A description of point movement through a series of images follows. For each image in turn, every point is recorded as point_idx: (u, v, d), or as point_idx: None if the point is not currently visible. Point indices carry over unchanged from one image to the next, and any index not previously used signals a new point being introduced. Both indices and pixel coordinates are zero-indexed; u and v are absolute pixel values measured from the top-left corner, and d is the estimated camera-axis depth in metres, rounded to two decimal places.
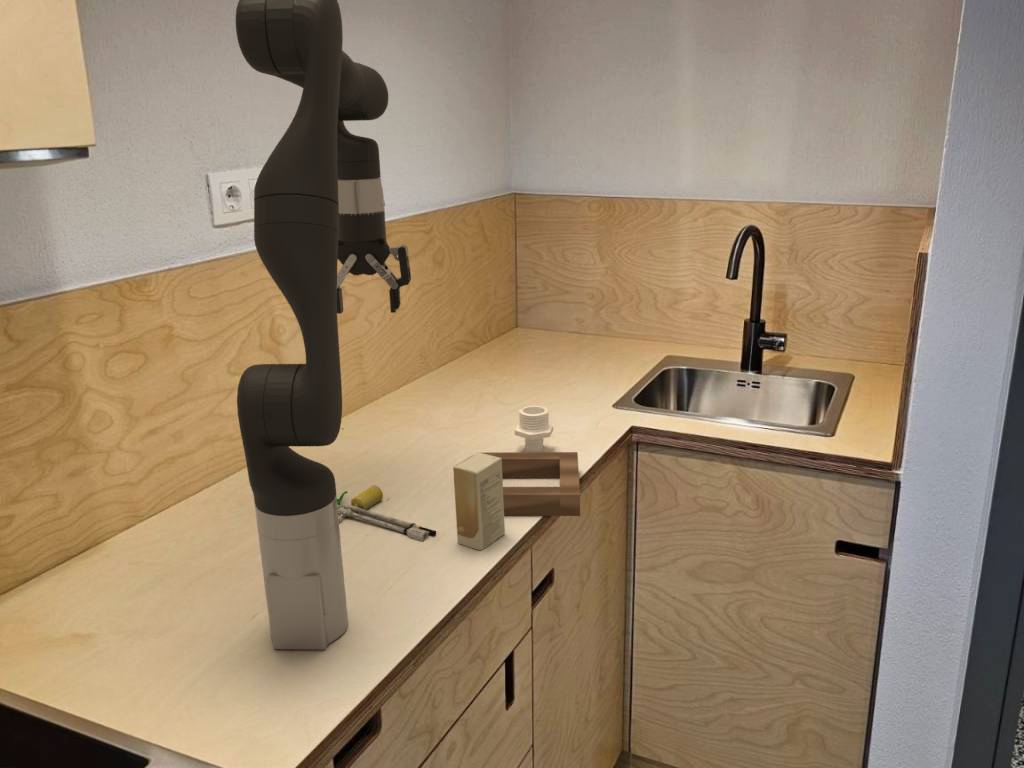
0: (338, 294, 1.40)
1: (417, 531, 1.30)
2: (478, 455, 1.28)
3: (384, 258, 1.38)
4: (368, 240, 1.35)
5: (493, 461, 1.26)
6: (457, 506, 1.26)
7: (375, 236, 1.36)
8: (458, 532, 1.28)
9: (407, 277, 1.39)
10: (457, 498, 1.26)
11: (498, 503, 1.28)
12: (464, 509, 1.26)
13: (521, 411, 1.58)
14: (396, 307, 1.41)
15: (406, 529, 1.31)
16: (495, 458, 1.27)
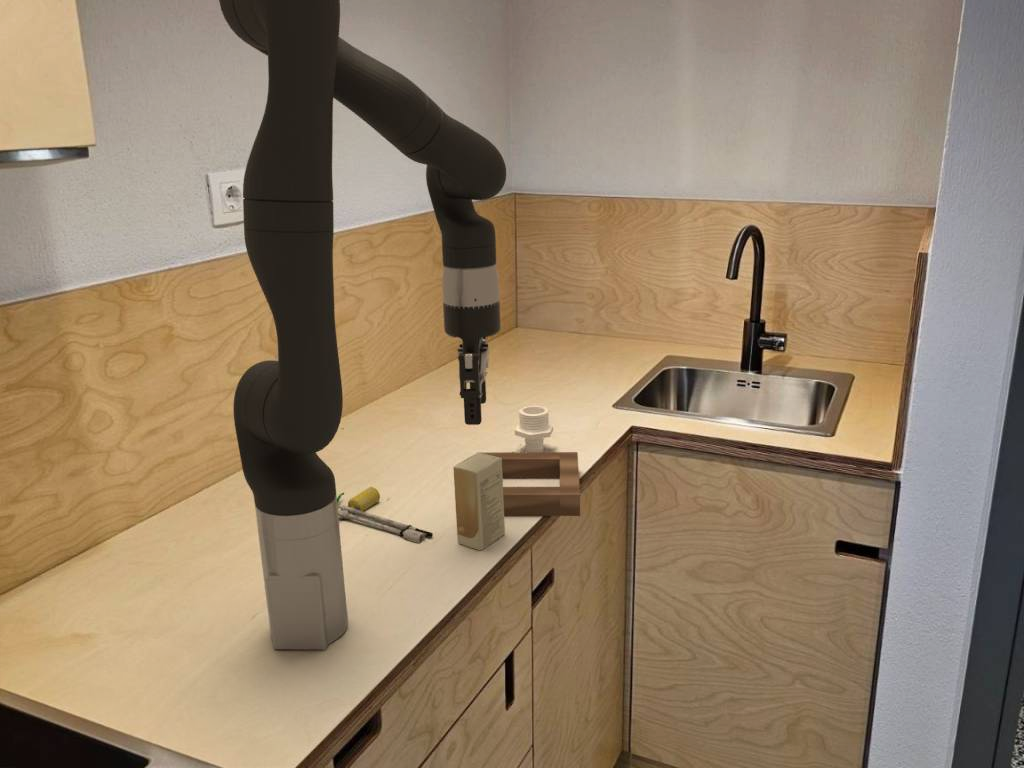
0: (480, 401, 1.19)
1: (413, 533, 1.29)
2: (478, 455, 1.28)
3: None
4: None
5: (493, 461, 1.26)
6: (457, 506, 1.26)
7: None
8: (458, 532, 1.28)
9: None
10: (457, 498, 1.26)
11: (498, 503, 1.28)
12: (464, 509, 1.26)
13: (521, 411, 1.58)
14: None
15: (402, 531, 1.31)
16: (495, 458, 1.27)
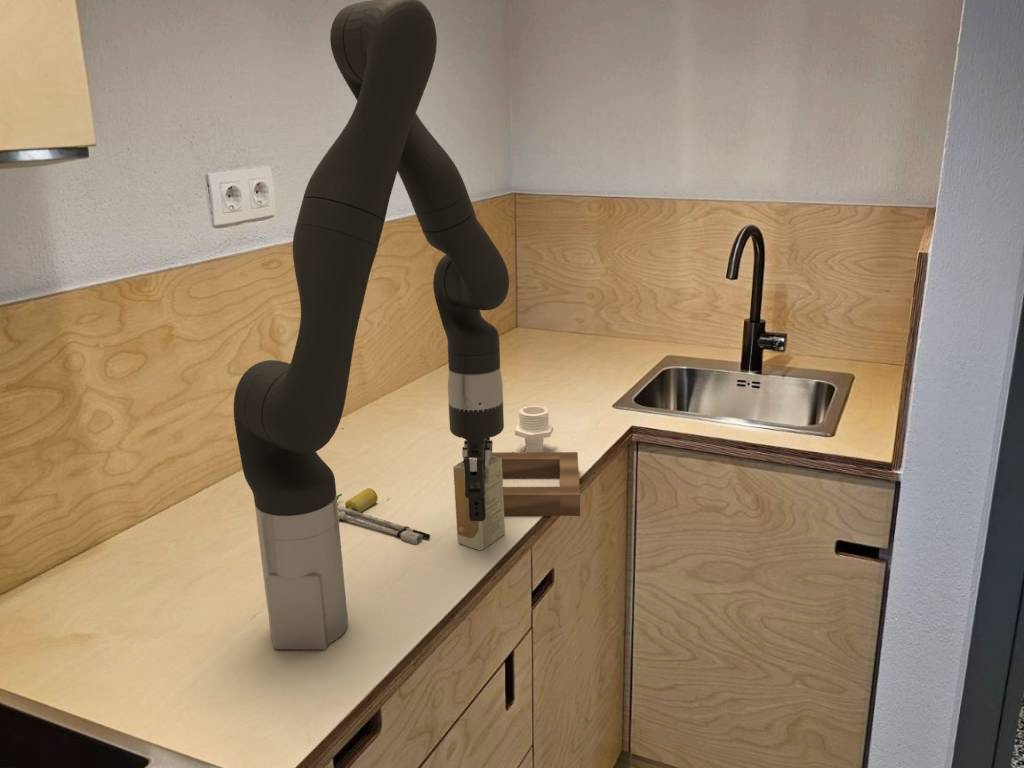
0: (484, 498, 1.23)
1: (411, 534, 1.29)
2: None
3: None
4: None
5: (493, 461, 1.26)
6: (457, 506, 1.26)
7: None
8: (458, 532, 1.28)
9: None
10: (457, 498, 1.26)
11: (498, 503, 1.28)
12: (464, 509, 1.26)
13: (521, 411, 1.58)
14: None
15: (400, 532, 1.30)
16: (495, 458, 1.27)
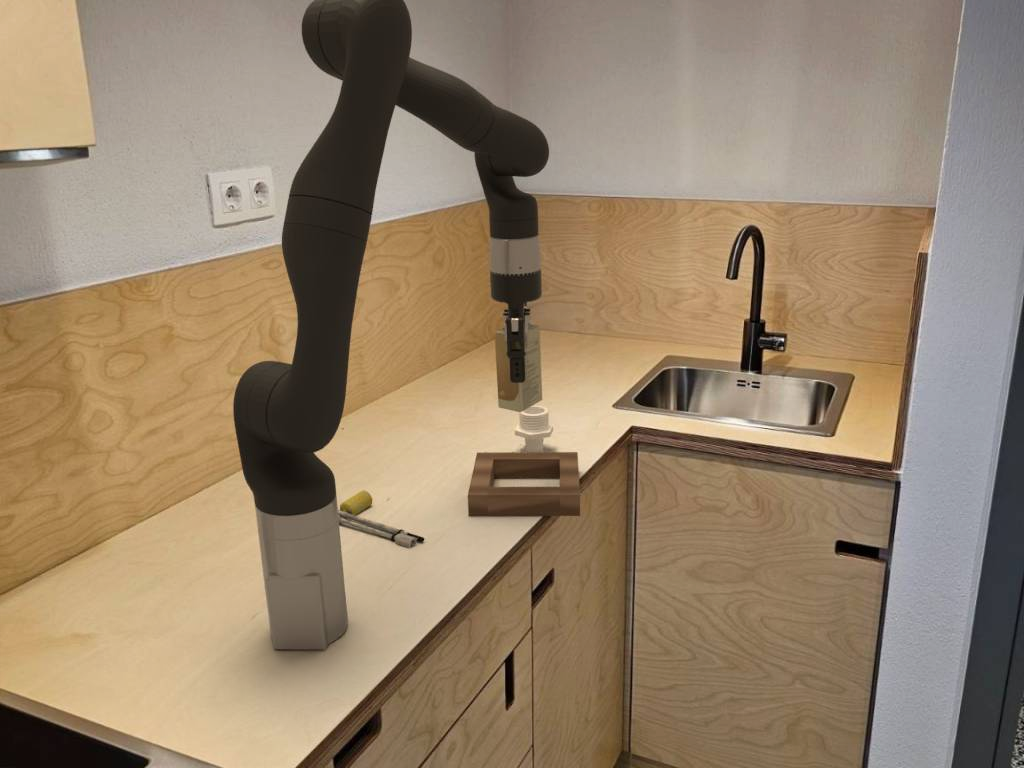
0: (524, 360, 1.31)
1: (405, 537, 1.28)
2: None
3: None
4: None
5: (532, 327, 1.33)
6: (498, 371, 1.34)
7: None
8: (499, 396, 1.36)
9: None
10: (498, 363, 1.34)
11: (536, 369, 1.36)
12: (505, 373, 1.34)
13: None
14: None
15: (394, 535, 1.29)
16: (533, 325, 1.34)
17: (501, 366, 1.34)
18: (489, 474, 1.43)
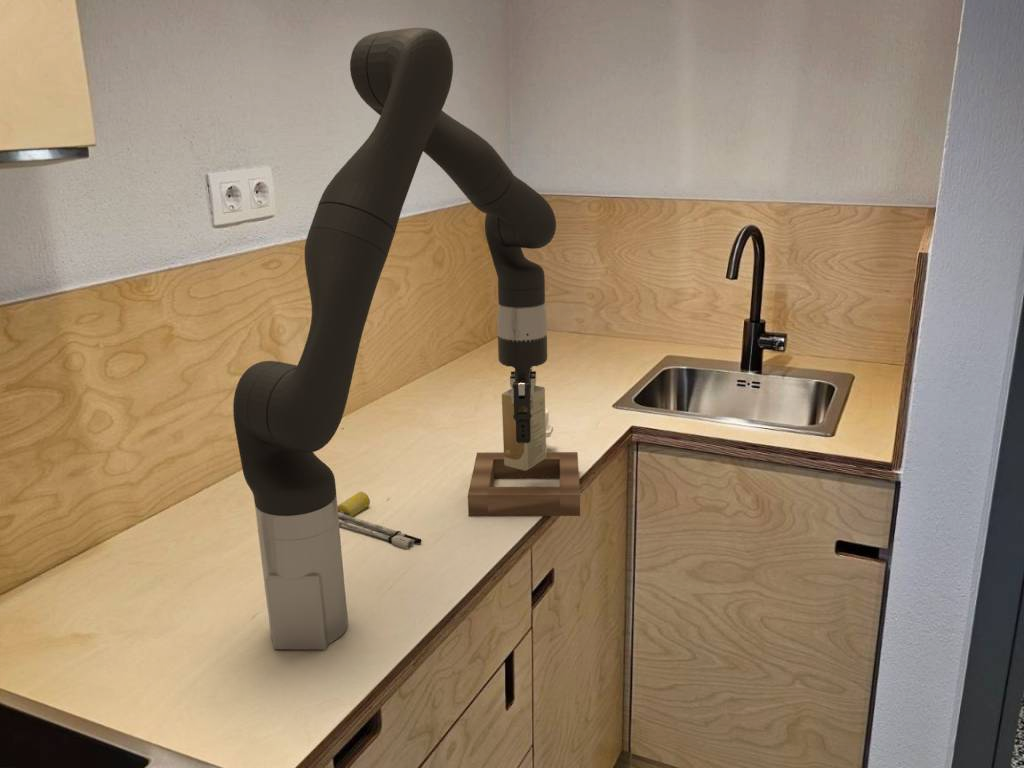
0: None
1: (402, 539, 1.28)
2: None
3: None
4: None
5: (537, 389, 1.39)
6: (504, 430, 1.40)
7: None
8: (505, 454, 1.41)
9: None
10: (505, 423, 1.39)
11: (541, 429, 1.41)
12: (511, 433, 1.39)
13: None
14: None
15: (391, 537, 1.29)
16: (539, 387, 1.40)
17: (507, 426, 1.39)
18: (489, 474, 1.43)
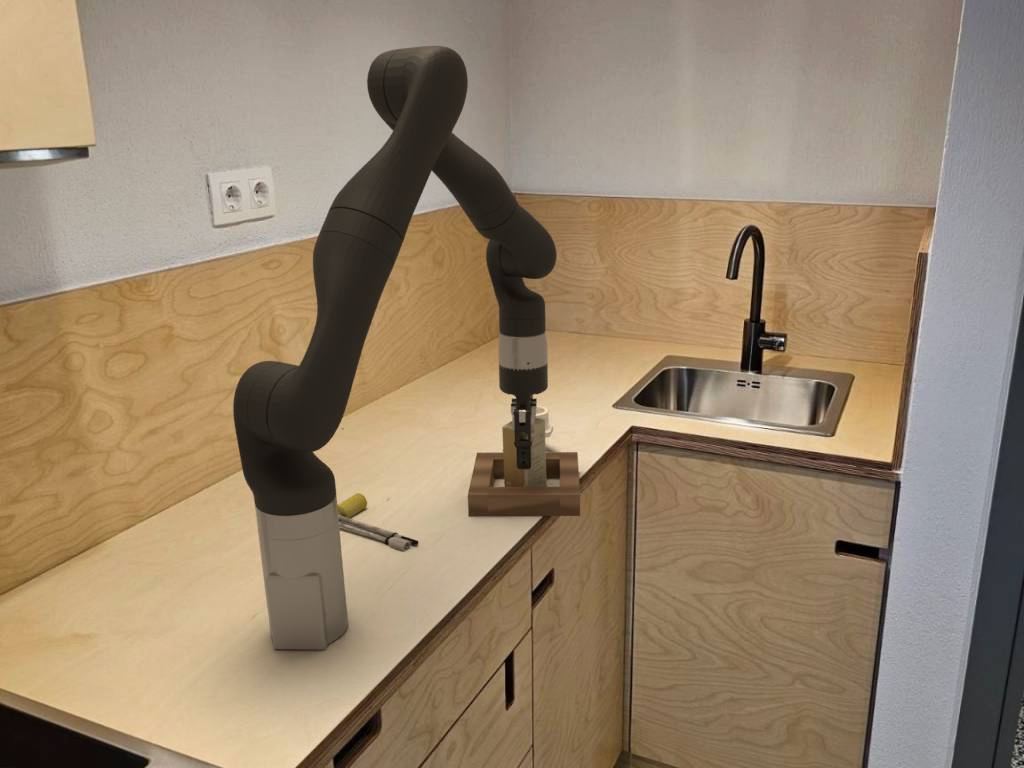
0: (530, 449, 1.38)
1: (398, 541, 1.27)
2: None
3: None
4: None
5: (538, 422, 1.40)
6: (505, 462, 1.41)
7: None
8: (506, 486, 1.42)
9: None
10: (505, 455, 1.40)
11: (541, 460, 1.43)
12: (512, 465, 1.40)
13: None
14: None
15: (388, 538, 1.29)
16: (539, 419, 1.41)
17: (508, 458, 1.40)
18: (489, 474, 1.43)
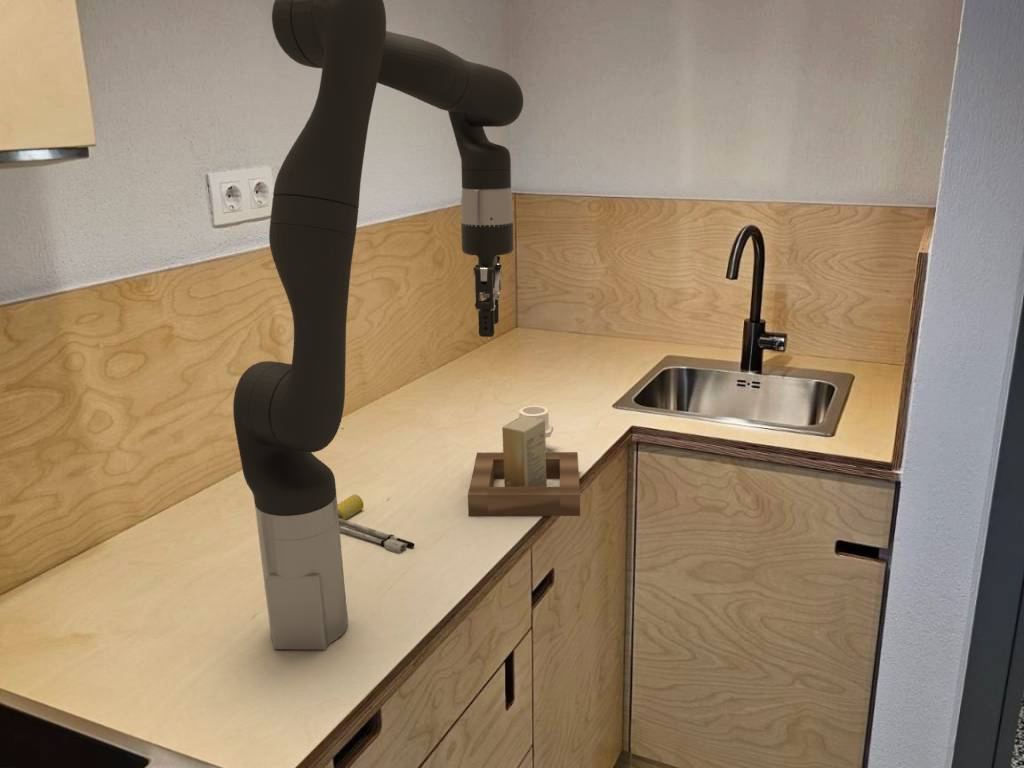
0: (493, 314, 1.29)
1: (394, 543, 1.27)
2: (523, 418, 1.42)
3: None
4: None
5: (538, 422, 1.40)
6: (505, 463, 1.41)
7: None
8: (506, 486, 1.42)
9: None
10: (505, 455, 1.40)
11: (541, 461, 1.42)
12: (512, 466, 1.40)
13: (521, 411, 1.58)
14: None
15: (383, 541, 1.28)
16: (539, 420, 1.41)
17: (508, 459, 1.40)
18: (489, 474, 1.43)
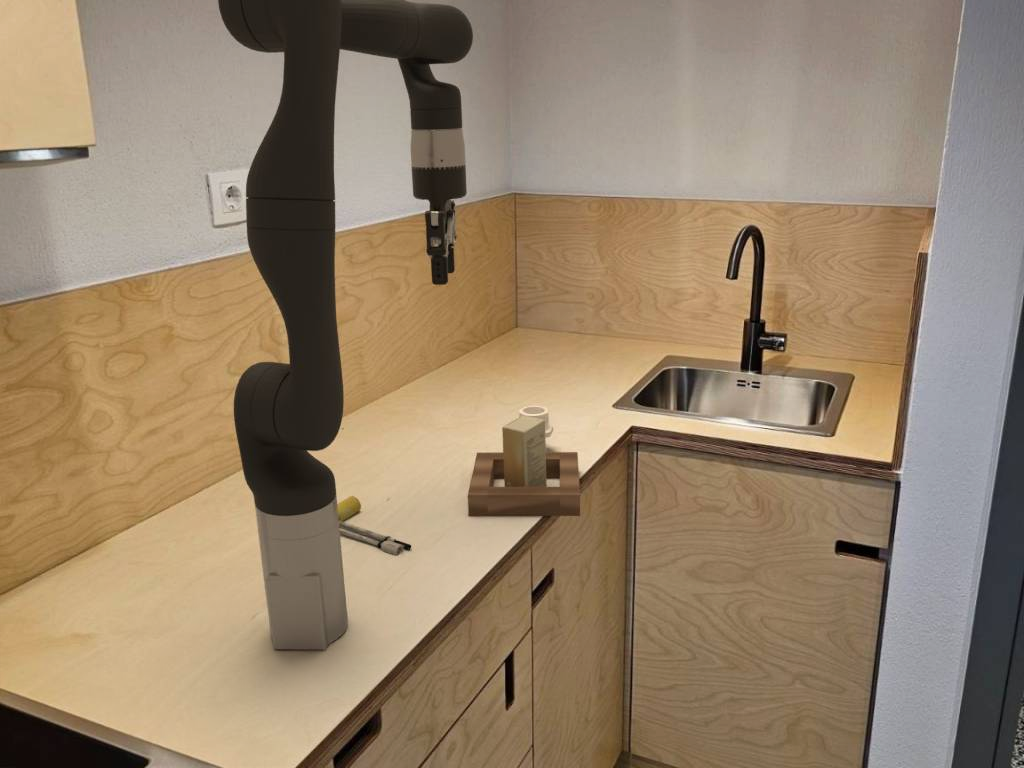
0: (447, 261, 1.24)
1: (391, 545, 1.26)
2: (523, 418, 1.42)
3: None
4: None
5: (538, 422, 1.40)
6: (505, 463, 1.41)
7: None
8: (506, 486, 1.42)
9: None
10: (505, 455, 1.40)
11: (541, 461, 1.42)
12: (512, 466, 1.40)
13: (521, 411, 1.58)
14: None
15: (380, 542, 1.28)
16: (539, 420, 1.41)
17: (508, 459, 1.40)
18: (489, 474, 1.43)
